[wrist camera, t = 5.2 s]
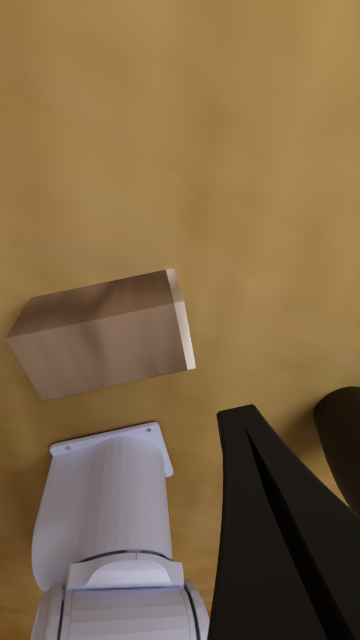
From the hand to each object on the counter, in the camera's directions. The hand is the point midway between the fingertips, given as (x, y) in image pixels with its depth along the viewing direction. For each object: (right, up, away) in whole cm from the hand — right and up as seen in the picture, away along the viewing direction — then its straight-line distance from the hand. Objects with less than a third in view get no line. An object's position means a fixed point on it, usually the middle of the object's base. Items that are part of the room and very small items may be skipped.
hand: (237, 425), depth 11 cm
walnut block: (-2, +4, +7) cm, 8 cm away
